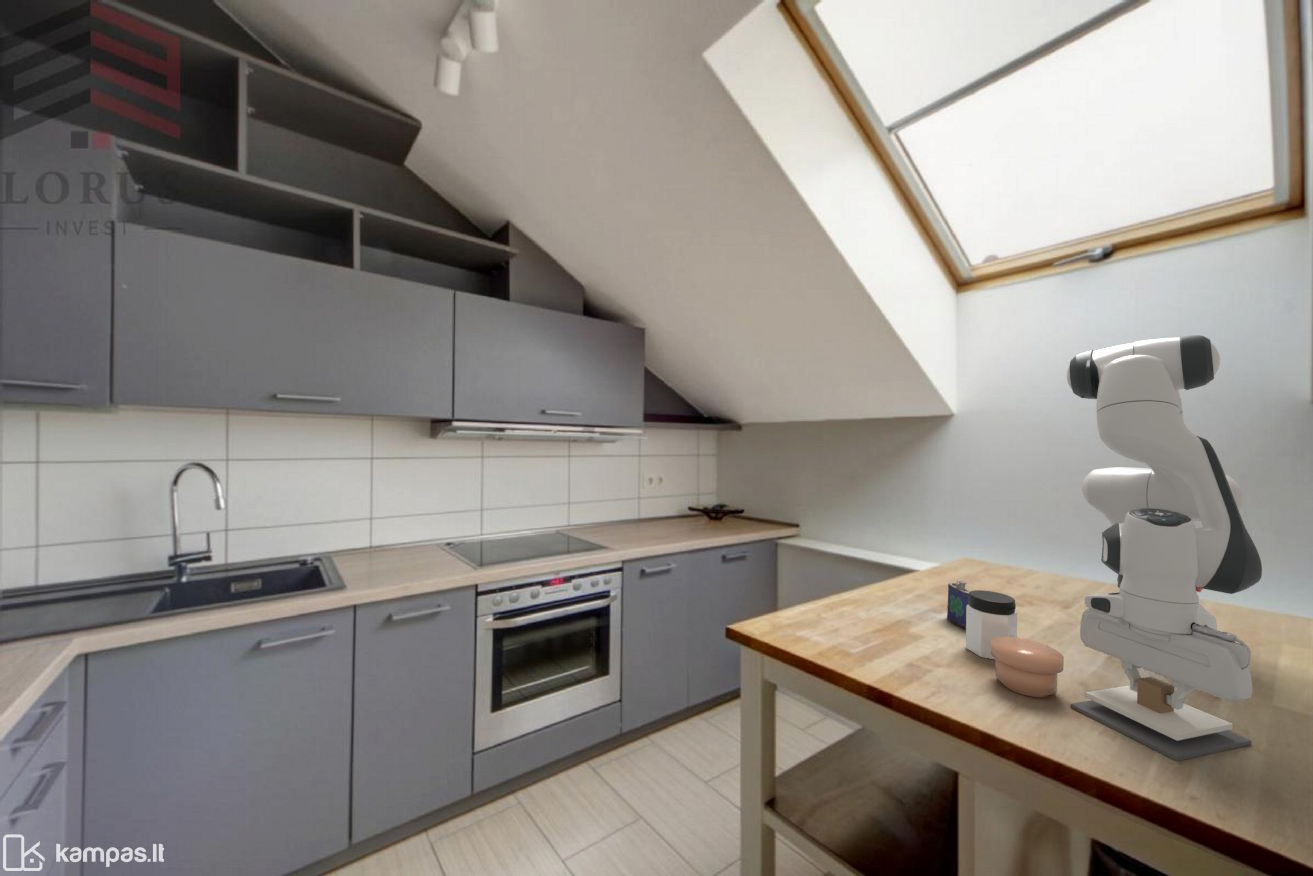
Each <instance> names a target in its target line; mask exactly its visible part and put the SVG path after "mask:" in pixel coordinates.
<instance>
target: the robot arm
mask: <svg viewBox="0 0 1313 876" xmlns="http://www.w3.org/2000/svg"><path fill="white" fill-rule="evenodd" d="M1220 364H1221V356H1220V352H1219V351H1218V348H1217V347H1216V346H1215V345H1214V344H1213V343H1212V342H1211V339H1210V338H1208V337H1206V336H1205V335H1203V334H1201V335H1200V334H1199V335H1198V334H1196V335H1195V334H1185V335H1182V334H1181V335H1180V336H1177V337H1164V338H1162V337H1161V338H1153V339H1143V340H1137V341H1134V342H1130V343H1123V344H1118V345H1113V346H1110V347H1108V346H1107V347H1106V348H1105V347H1104V348H1100V349H1096V350H1094V349H1091V350H1086V351H1084V352H1080V353H1078V354H1076V355H1075V356H1074V357H1072V359H1071V360H1070V361H1069V364H1068V368H1067V370H1066V379H1067V384H1068V386H1069V387H1070V389H1071V390H1072V393H1073V394H1074V395H1075V396H1077V397H1079V398H1081V399H1088V400H1096V424H1097V429H1098V435H1099V438H1100V440H1101V442H1103V444H1104V445H1105V446H1106V447H1107V448H1108V449H1110V450H1111V451H1113V452H1114V453H1117V454H1118V455H1120V456H1122V457H1124V458H1127V459H1128V460H1132V461H1136V462H1139V463H1142V464H1146V465H1147V466H1148V468H1147V467H1128V466H1127V467H1125V466H1113V467H1105V468H1094V469H1093V470H1091V471H1089V473H1087V474H1086V476H1085V478H1084V479H1083V482H1082V487H1081V491H1082V495H1083V497H1084V499H1085V500H1086V502H1087V503H1088V504H1089V505H1090V506H1091V507H1093V508H1094V509H1096V510H1097V511H1099V513H1101V514H1102V515H1103V516H1104V517H1105V518H1106V520H1108V521H1109V522H1110V524H1111V526H1109V527H1108V528H1106V529H1105V530H1104V531H1102V532H1101V535H1102V536H1101V537H1102V538H1101V539H1102V549H1101V550H1102V552H1101V563H1103V564H1104V565H1105V566H1106V567H1107V568H1109V570H1111V571H1112V572H1114V574H1115V573H1116V574H1117V580H1116V582H1117V588H1119V589H1118V590H1117V591H1115V592H1108V593H1107V592H1105V593H1096V594H1095V593H1094V594H1089V595H1086V596H1084V605H1085V607H1086V608H1085V610H1084V611H1082V613H1081V614H1082V615H1081V620H1080V626H1079V627H1080V629H1079V637H1080V641H1081V642H1082V643H1083V645H1084V646H1085V647H1087V648H1089V649H1092V650H1093V651H1097V652H1100V653H1102V654H1105V655H1107V656H1110V657H1112V658H1116V659H1118V660H1121V667H1122V669H1123V671H1124V673H1125V674H1126V676H1127V678H1128V680H1129V685H1130V689H1131V690H1132V691H1135V692H1137V688H1138V679H1139V678H1142V676H1141V674H1140V671H1139V669H1141V668H1142V669H1143V670H1147V671H1149V672H1151V673H1154V674H1156V675H1159V676H1162V677H1164V678H1167V679H1170V680H1172V685H1173V686H1174V688H1177V689H1176V690H1174V693H1173V692H1170V693H1165V694H1164V699H1165V700H1164V704H1165V705H1168V706H1170V707H1172V708H1175V709H1182V708H1183V704H1185V703H1184V701H1185V700H1184V699H1185V698H1186V697H1187V696H1188V695H1189V694H1190V693H1192V692H1193V691H1194V689H1196V690H1198V691H1201V692H1204V693H1206V694H1209V695H1211V696H1214V697H1217V698H1219V699H1222V700H1225V701H1227V702H1230V703H1232V702H1233V703H1234V702H1241V701H1245V700H1248V699H1249V698H1251V697H1252V696H1253V691H1254V688H1253V681H1252V673H1251V669H1250V664H1251V663H1252V662H1251V661H1252V659H1251V658H1252V651H1251V648H1250V647H1249V645H1247V644H1246V642H1244V641H1242V640H1241V639H1239V638H1238V637H1237V635H1235V634H1232V633H1230V632H1226V631H1221V630H1218V623H1217V617H1216V616H1215V615H1214V614H1212V612H1210V611H1209V610H1207V609H1206V607H1204V606H1203V605H1202V604H1201V603H1200V598H1199V594H1198V593H1201V592H1203V590H1208V591H1213V592H1219V593H1223V594H1229V595H1232V594H1233V595H1234V594H1236V593H1241V592H1242V591H1245V590H1247V589H1249V588H1251V587H1253V586H1254V585H1256V584H1257V583H1259V582H1260V580H1261V579H1262V576H1263V565H1262V564H1263V563H1262V559H1261V555H1260V554H1259V552H1258V549H1257V547H1256V545H1255V543H1254V541H1253V539H1252V536H1250V534H1249V531H1248V530H1247V528H1246V526H1245V522H1244V521H1243V518H1242V516H1241V512H1240V510H1241V509H1242V508H1243V505H1244V500H1245V499H1244V493H1243V490H1242V487H1241V486H1240V485H1239V484H1238V482H1237V481H1236V480H1235V479H1233V478H1232V477H1231V476H1229V475H1228V474H1226V473H1225V471H1224V469H1223V466H1222V464H1221V460H1220V459H1219V457H1218V454H1217V453H1216V451H1215V448H1214V447H1213V445H1212V444H1211V443H1210V442H1209V440H1208V439H1206V438H1204V437H1201V436H1198V435H1196V434H1195V433H1193V432H1192V430H1191V429H1189V427H1188V426H1187V425H1186V424H1185V421H1184V413H1183V405H1182V399H1181V394H1180V391H1179V390H1183V389H1184V390H1185V391H1189V390H1193V389H1196V388H1200V387H1203V386H1206V385H1208V384H1209V383H1211V381H1213V380H1215V376H1216V374H1217V372H1218V370H1219V367H1220ZM1195 522H1201V525H1202V527H1198V528H1197V527H1196V525H1195Z"/></svg>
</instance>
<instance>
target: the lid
mask: <svg viewBox="0 0 1313 876" xmlns="http://www.w3.org/2000/svg"><path fill="white" fill-rule="evenodd" d="M1170 692H1173V693H1174V692H1175V687H1174V686H1173V684H1171V683H1168V682H1166V681H1163V680H1160V679H1158V678H1155V677H1154V676H1148V677H1141V678H1139V679H1138V688H1137V692H1135V691H1132V690H1131V689H1130V684H1129V685H1124V686H1117V687H1110V688H1106V689H1100V690H1092V691H1086V692H1085V698H1086V699H1089V700H1093V701H1095V702H1097V703H1099V704H1101V705H1103V706H1105V707H1107V708H1110V709H1112V710H1114V711H1116V712H1118V713H1120V714H1122V715H1124V716H1126V717H1128V718H1131V719H1133V720H1135V721H1137V722H1139V723H1141V724H1143V725H1145V726H1147V727H1149V728H1152V729H1154V730H1156V731H1158V732H1160V733H1162V734H1164V735H1166V736H1168V737H1170V738H1173V739H1175V740H1177V741H1178V740H1183V739H1188V738H1192V737H1197V736H1202V735H1207V734H1212V733H1217V732H1221V731H1226V730H1228V731H1230V730H1231V731H1232V730H1233V728H1234V724H1233V723H1231V722H1230V721H1227V720H1225V719H1222V718H1220V717H1217V716H1215V715H1212V714H1211V713H1207V712H1205V711H1203V710H1201V709H1198V708H1195V707H1193V706H1190V705H1189V704H1186V703H1184V704H1183V708H1182V709H1175V708H1172V707H1170V706H1168V705H1165V704H1164V700H1165V699H1164V694H1165V693H1170Z"/></svg>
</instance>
